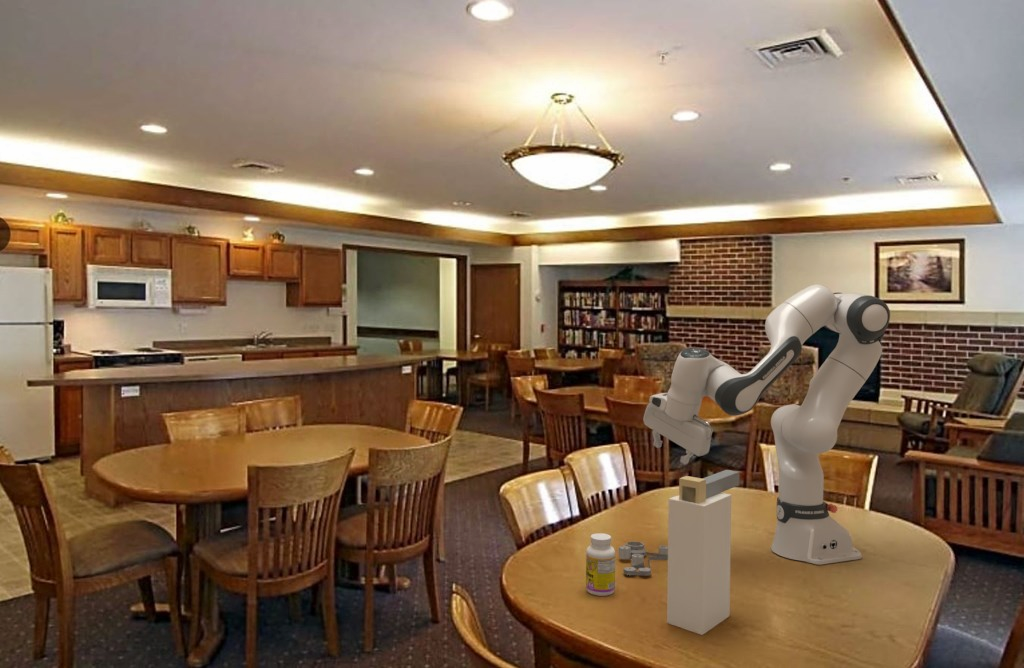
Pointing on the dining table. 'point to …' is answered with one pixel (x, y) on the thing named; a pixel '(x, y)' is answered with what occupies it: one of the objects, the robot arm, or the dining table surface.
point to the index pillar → (699, 562)
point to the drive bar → (706, 486)
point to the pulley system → (640, 557)
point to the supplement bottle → (600, 566)
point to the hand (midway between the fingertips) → (670, 454)
